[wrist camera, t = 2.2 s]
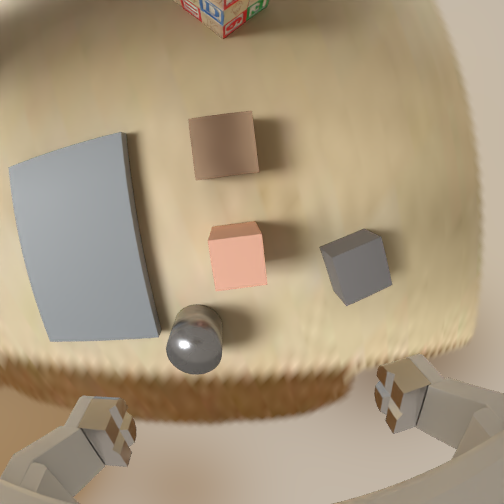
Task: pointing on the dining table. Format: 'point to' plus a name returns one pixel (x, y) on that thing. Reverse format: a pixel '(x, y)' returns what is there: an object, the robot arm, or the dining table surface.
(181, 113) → the dining table surface
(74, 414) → the robot arm
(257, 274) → the terracotta block
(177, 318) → the dark metal cylinder
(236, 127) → the walnut block
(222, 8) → the stack of blocks
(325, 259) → the charcoal rubber cube
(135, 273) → the slate board
